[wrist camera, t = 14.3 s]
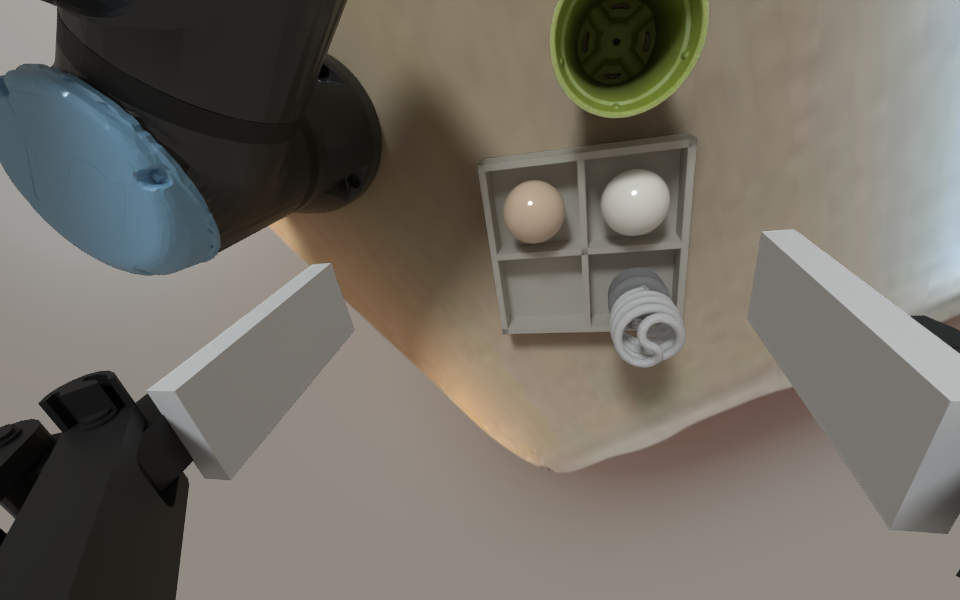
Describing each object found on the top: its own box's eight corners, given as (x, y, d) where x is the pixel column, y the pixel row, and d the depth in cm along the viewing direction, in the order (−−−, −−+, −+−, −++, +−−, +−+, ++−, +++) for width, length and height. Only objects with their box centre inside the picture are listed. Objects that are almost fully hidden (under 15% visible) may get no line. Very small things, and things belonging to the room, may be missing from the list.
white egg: (599, 226, 40) (602, 248, 35) (598, 166, 38) (601, 181, 33) (662, 220, 39) (674, 243, 34) (665, 158, 36) (679, 173, 31)
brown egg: (510, 233, 42) (502, 255, 37) (503, 177, 40) (494, 193, 35) (567, 228, 41) (566, 250, 36) (564, 170, 38) (562, 185, 33)
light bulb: (661, 302, 43) (689, 378, 32) (604, 305, 44) (613, 378, 34) (663, 251, 40) (694, 315, 30) (602, 255, 41) (611, 318, 31)
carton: (506, 319, 48) (502, 334, 45) (483, 158, 40) (477, 165, 37) (675, 313, 44) (681, 329, 41) (687, 132, 35) (697, 138, 33)
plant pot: (552, 108, 37) (546, 119, 29) (558, -27, 32) (553, -55, 25) (666, 105, 35) (691, 117, 27) (689, -38, 30) (727, -71, 23)
